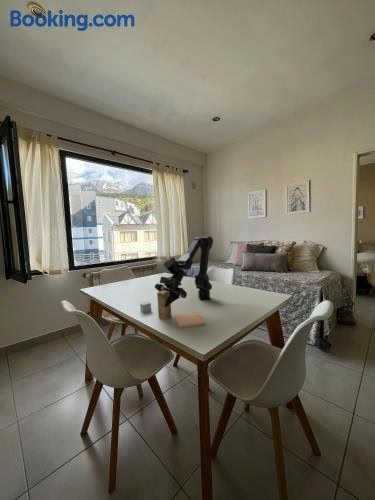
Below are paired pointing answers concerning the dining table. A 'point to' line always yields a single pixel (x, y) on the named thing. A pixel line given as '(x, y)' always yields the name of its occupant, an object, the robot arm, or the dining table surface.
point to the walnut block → (163, 305)
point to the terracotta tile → (189, 320)
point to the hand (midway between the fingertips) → (162, 305)
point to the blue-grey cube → (145, 306)
